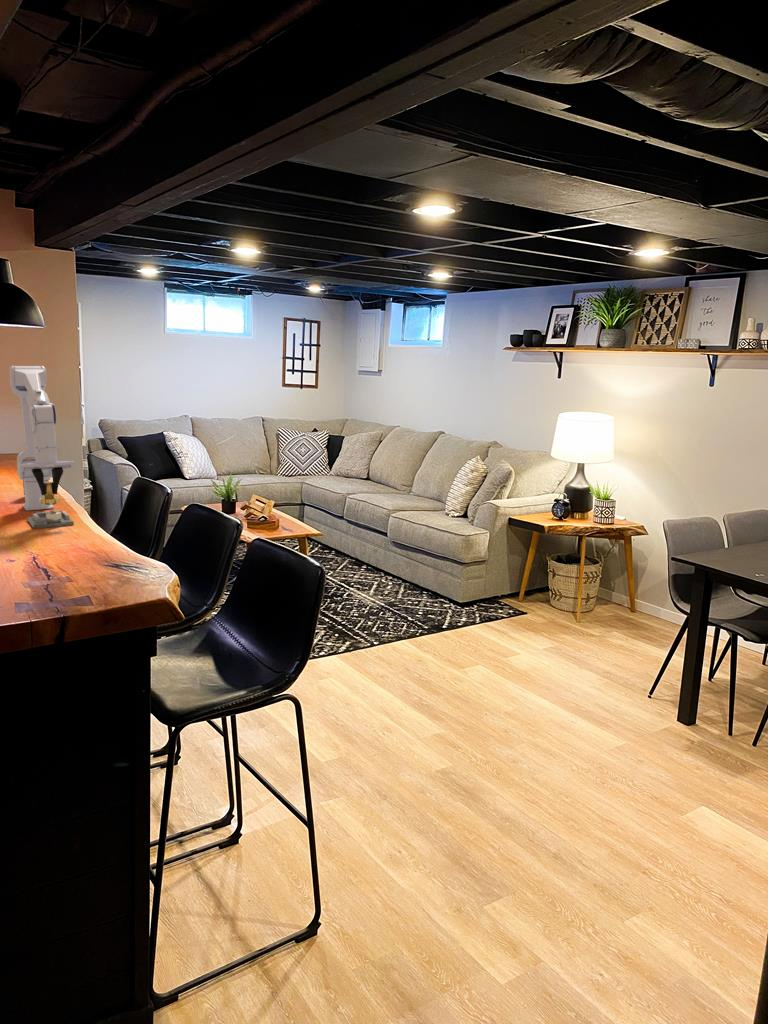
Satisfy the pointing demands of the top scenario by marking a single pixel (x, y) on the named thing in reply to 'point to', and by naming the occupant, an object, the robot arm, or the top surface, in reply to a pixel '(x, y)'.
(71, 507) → the top surface
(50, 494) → the planet gear
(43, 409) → the robot arm
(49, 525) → the carrier
